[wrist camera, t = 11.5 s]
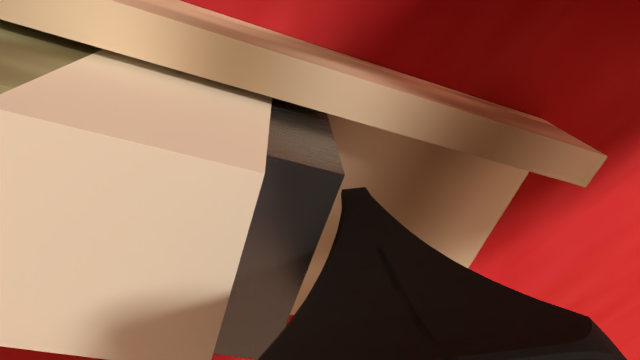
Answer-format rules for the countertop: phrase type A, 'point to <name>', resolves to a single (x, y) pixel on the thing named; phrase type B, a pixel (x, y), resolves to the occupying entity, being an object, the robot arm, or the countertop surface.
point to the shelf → (326, 96)
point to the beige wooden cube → (125, 207)
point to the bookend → (282, 228)
